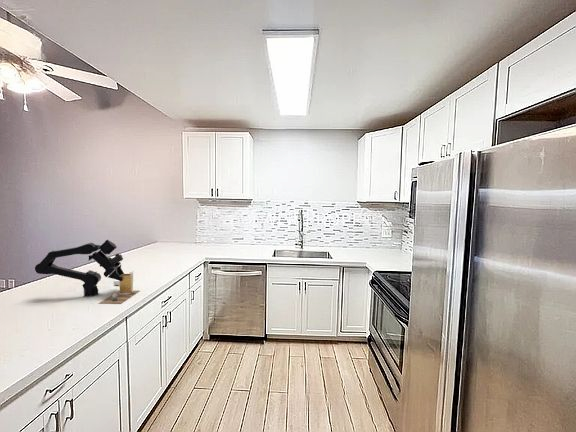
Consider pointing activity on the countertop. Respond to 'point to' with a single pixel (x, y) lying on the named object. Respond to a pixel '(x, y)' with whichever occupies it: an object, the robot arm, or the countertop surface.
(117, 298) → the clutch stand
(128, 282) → the gold square tube
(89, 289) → the robot arm
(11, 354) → the countertop surface
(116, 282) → the bracket
